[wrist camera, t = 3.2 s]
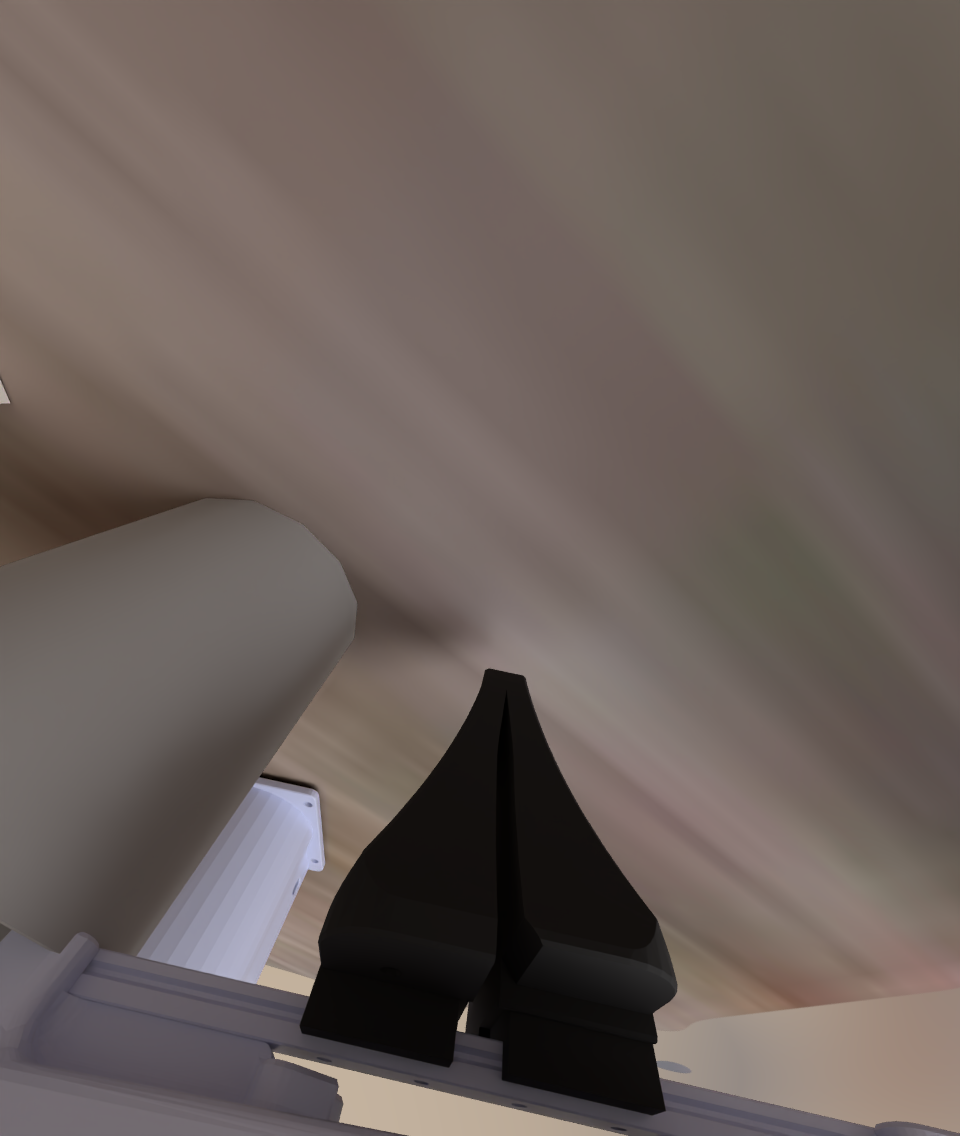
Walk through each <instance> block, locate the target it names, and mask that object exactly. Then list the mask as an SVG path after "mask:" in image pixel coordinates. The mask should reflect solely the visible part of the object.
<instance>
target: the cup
mask: <svg viewBox="0 0 960 1136" xmlns="http://www.w3.org/2000/svg"><path fill="white" fill-rule="evenodd" d="M356 614H357V601H356V599H355V596H354V594H353V592H352V589H351V587H350V584H349V582H348V580H347V577H346V575H345V573H344V570H343V568H342V566H341V563H340V562H339V561H338V560H337V559H336V558H335V556H334V555H333V554H332V553H331V552H330V551H329V550H328V549H327V548H326V547H325V546H324V545H323V544H322V543H321V542H320V541H319V540H318V539H317V538H316V537H315V536H314V535H313V534H312V533H311V532H310V531H309V530H308V529H307V528H306V527H305V526H304V525H303V524H301V523H299V522H297V521H295V520H293V519H291V518H289V517H287V516H285V515H283V514H281V513H279V512H277V511H274V510H272V509H270V508H268V507H266V506H264V505H262V504H260V503H258V502H256V501H254V500H237V499H216V498H204V499H201V500H198V501H195V502H192V503H189V504H186V505H183V506H180V507H177V508H174V509H171V510H168V511H165V512H162V513H159V514H156V515H153V516H150V517H147V518H144V519H141V520H138V521H135V522H132V523H129V524H126V525H123V526H120V527H117V528H114V529H111V530H108V531H105V532H102V533H99V534H96V535H93V536H90V537H87V538H84V539H81V540H78V541H75V542H72V543H69V544H66V545H63V546H60V547H57V548H54V549H51V550H48V551H45V552H42V553H39V554H36V555H33V556H30V557H27V558H24V559H21V560H18V561H15V562H12V563H9V564H6V565H3V566H0V942H1V941H2V940H3V938H4V937H5V936H6V935H7V934H8V933H9V932H10V931H11V930H13V931H15V932H17V933H19V934H20V935H22V936H24V937H26V938H27V939H29V940H31V941H33V942H35V943H36V944H38V945H40V946H42V947H44V948H45V949H47V950H49V951H52V952H55V953H59V954H60V953H61V952H62V951H63V949H64V948H65V947H66V946H67V944H68V943H69V942H70V941H71V940H72V938H73V937H74V936H75V935H76V934H77V933H80V932H85V933H87V934H89V935H91V936H92V937H94V938H95V939H96V940H97V942H98V943H99V948H102V949H106V950H111V951H115V952H119V953H124V954H128V955H132V956H137V954H138V953H139V952H140V950H141V949H142V947H143V946H144V944H145V943H146V941H147V940H148V938H149V937H150V935H151V934H152V933H153V931H154V930H155V928H156V927H157V925H158V924H159V922H160V921H161V919H162V918H163V917H164V915H165V914H166V912H167V911H168V909H169V908H170V906H171V905H172V903H173V902H174V900H175V899H176V898H177V896H178V895H179V893H180V892H181V890H182V889H183V887H184V886H185V884H186V883H187V882H188V880H189V879H190V877H191V876H192V874H193V873H194V871H195V870H196V868H197V867H198V865H199V864H200V863H201V861H202V860H203V858H204V857H205V855H206V854H207V852H208V851H209V849H210V848H211V847H212V845H213V844H214V842H215V841H216V839H217V838H218V836H219V835H220V833H221V832H222V830H223V829H224V828H225V826H226V825H227V823H228V822H229V820H230V819H231V817H232V816H233V814H234V813H235V812H236V810H237V809H238V807H239V806H240V804H241V803H242V801H243V800H244V798H245V797H246V795H247V794H248V793H249V791H250V790H251V788H252V787H253V785H254V784H255V782H256V781H257V779H258V778H259V777H260V775H261V774H262V772H263V771H264V769H265V768H266V766H267V765H268V763H269V762H270V760H271V759H272V758H273V756H274V755H275V753H276V752H277V750H278V749H279V747H280V746H281V744H282V743H283V742H284V740H285V739H286V737H287V736H288V734H289V733H290V731H291V730H292V728H293V727H294V725H295V724H296V723H297V721H298V720H299V718H300V717H301V715H302V714H303V712H304V711H305V709H306V708H307V707H308V705H309V704H310V702H311V701H312V699H313V698H314V696H315V695H316V693H317V692H318V690H319V689H320V688H321V686H322V685H323V683H324V682H325V680H326V679H327V677H328V676H329V674H330V673H331V672H332V670H333V669H334V667H335V666H336V664H337V663H338V661H339V660H340V658H341V657H342V655H343V654H344V653H345V651H346V650H347V648H348V647H349V645H350V644H351V642H352V641H353V639H354V636H355V625H356Z"/></svg>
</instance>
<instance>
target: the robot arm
mask: <svg viewBox="0 0 960 1136" xmlns="http://www.w3.org/2000/svg"><path fill="white" fill-rule="evenodd" d="M324 865H325V857H324V846H323V834H322V823H321V812H320V800H319V794H318V792H317V791H315V790H314V789H311V788H306V787H302V786H297V785H293V784H288V783H283V782H279V781H274V780H270V779H265V778H261V777H259V778H258V779H257V781H256V782H255V784H254V785H253V787H252V788H251V790H250V791H249V793H248V794H247V795H246V797H245V798H244V800H243V801H242V803H241V804H240V806H239V807H238V809H237V810H236V812H235V813H234V814H233V816H232V817H231V819H230V820H229V822H228V823H227V825H226V826H225V828H224V829H223V830H222V832H221V833H220V835H219V836H218V838H217V839H216V841H215V842H214V844H213V845H212V847H211V848H210V849H209V851H208V852H207V854H206V855H205V857H204V858H203V860H202V861H201V863H200V864H199V865H198V867H197V868H196V870H195V871H194V873H193V874H192V876H191V877H190V879H189V880H188V882H187V883H186V884H185V886H184V887H183V889H182V890H181V892H180V893H179V895H178V896H177V898H176V899H175V900H174V902H173V903H172V905H171V906H170V908H169V909H168V911H167V912H166V914H165V915H164V917H163V918H162V919H161V921H160V922H159V924H158V925H157V927H156V928H155V930H154V931H153V933H152V934H151V935H150V937H149V938H148V940H147V941H146V943H145V944H144V946H143V947H142V949H141V950H140V952H139V953H138V954H137V956H132V955H128V954H124V953H119V952H115V951H111V950H106V949H102V948H99V943H98V942H97V940H96V939H95V938H94V937H92V936H91V935H89V934H87V933H85V932H80V933H77V934H76V935H75V936H74V937H73V938H72V940H71V941H70V942H69V943H68V944H67V946H66V947H65V948H64V949H63V951H62V952H61V953H60V954H59V953H55V952H52V951H49V950H47V949H45V948H44V947H42V946H40V945H38V944H36V943H35V942H33V941H31V940H29V939H27V938H26V937H24V936H22V935H20V934H19V933H17V932H15V931H13V930H11V931H10V932H9V933H8V934H7V935H6V936H5V937H4V938H3V940H2V941H1V942H0V1136H407V1135H401V1134H396V1133H391V1132H386V1131H380V1130H375V1129H371V1128H365V1127H360V1126H355V1125H350V1124H344V1123H339V1119H340V1114H341V1111H342V1107H343V1101H342V1097H341V1096H339V1095H338V1094H337V1091H338V1082H337V1079H335V1078H332V1077H329V1076H327V1075H324V1074H321V1073H318V1072H316V1071H313V1070H310V1069H307V1068H304V1067H302V1066H299V1065H296V1064H294V1063H290V1062H287V1061H283V1060H279V1059H275V1057H274V1054H273V1052H276V1053H281V1054H285V1055H289V1056H293V1057H298V1058H302V1059H306V1060H311V1061H314V1062H319V1063H323V1064H327V1065H332V1066H336V1067H340V1068H344V1069H348V1070H353V1071H357V1072H361V1073H365V1074H370V1075H374V1076H379V1077H382V1078H387V1079H391V1080H395V1081H399V1082H403V1083H408V1084H412V1085H416V1086H421V1087H425V1088H429V1089H433V1090H437V1091H442V1092H446V1093H450V1094H454V1095H458V1096H463V1097H467V1098H471V1099H476V1100H480V1101H484V1102H488V1103H493V1104H497V1105H501V1106H506V1107H509V1108H514V1109H518V1110H523V1111H526V1112H530V1113H535V1114H539V1115H543V1116H548V1117H552V1118H556V1119H560V1120H564V1121H569V1122H573V1123H577V1124H581V1125H586V1126H590V1127H594V1128H599V1129H603V1130H607V1131H611V1132H615V1133H619V1134H624V1135H628V1136H960V1133H955V1132H951V1131H947V1130H942V1129H938V1128H934V1127H929V1126H925V1125H920V1124H916V1123H909V1122H897V1121H895V1122H884V1123H880V1124H876V1126H875V1128H872V1127H868V1126H864V1125H860V1124H855V1123H851V1122H847V1121H842V1120H838V1119H834V1118H829V1117H825V1116H821V1115H817V1114H812V1113H808V1112H804V1111H799V1110H795V1109H791V1108H787V1107H782V1106H778V1105H774V1104H769V1103H765V1102H760V1101H756V1100H752V1099H748V1098H743V1097H739V1096H735V1095H730V1094H726V1093H722V1092H717V1091H713V1090H709V1089H705V1088H700V1087H696V1086H692V1085H688V1084H683V1083H679V1082H675V1081H670V1080H666V1079H661V1078H659V1073H658V1068H657V1063H656V1058H655V1053H654V1048H653V1044H656V1043H657V1032H656V1027H655V1022H654V1017H653V1013H654V1012H655V1011H656V1010H658V1009H659V1008H661V1007H662V1006H664V1005H665V1004H667V1003H668V1002H670V1001H671V1000H672V998H673V997H674V996H675V994H676V992H677V981H676V977H675V973H674V970H673V966H672V962H671V958H670V955H669V952H668V949H667V946H666V943H665V940H664V938H663V935H662V932H661V929H660V926H659V923H658V921H657V919H656V917H655V916H654V915H653V913H652V912H651V911H650V910H649V908H648V907H647V906H646V904H645V903H644V902H643V900H642V899H641V898H640V896H639V895H638V894H637V892H636V891H635V890H634V888H633V887H632V886H631V884H630V883H629V882H628V880H627V879H626V877H625V876H624V875H623V873H622V872H621V870H620V869H619V867H618V866H617V865H616V863H615V862H614V860H613V859H612V857H611V856H610V854H609V853H608V852H607V850H606V849H605V847H604V845H603V844H602V842H601V841H600V839H599V838H598V836H597V834H596V833H595V831H594V830H593V828H592V826H591V825H590V823H589V822H588V820H587V819H586V817H585V815H584V814H583V812H582V810H581V809H580V807H579V805H578V803H577V802H576V800H575V798H574V796H573V795H572V793H571V791H570V789H569V787H568V785H567V783H566V781H565V779H564V778H563V776H562V774H561V772H560V770H559V767H558V765H557V763H556V761H555V759H554V757H553V754H552V752H551V750H550V748H549V746H548V743H547V741H546V738H545V736H544V733H543V731H542V728H541V726H540V723H539V720H538V718H537V715H536V712H535V709H534V706H533V703H532V700H531V697H530V693H529V690H528V686H527V682H526V678H525V677H524V676H523V675H518V674H513V673H508V672H503V671H499V670H494V669H487V670H485V673H484V677H483V681H482V686H481V688H480V691H479V693H478V696H477V698H476V700H475V702H474V704H473V706H472V708H471V711H470V713H469V715H468V716H467V718H466V720H465V722H464V724H463V725H462V727H461V729H460V730H459V732H458V734H457V736H456V737H455V739H454V740H453V742H452V744H451V745H450V747H449V748H448V750H447V751H446V753H445V754H444V756H443V757H442V759H441V760H440V761H439V763H438V764H437V766H436V767H435V768H434V770H433V771H432V772H431V774H430V775H429V776H428V778H427V779H426V780H425V782H424V783H423V784H422V785H421V787H420V788H419V789H418V790H417V792H416V793H415V794H414V795H413V796H412V798H411V799H410V800H409V801H408V802H407V803H406V805H405V806H404V807H403V808H402V809H401V811H400V812H399V813H398V814H397V815H396V816H395V817H394V819H393V820H392V821H391V822H390V823H389V824H388V825H387V826H386V827H385V828H384V829H383V830H382V831H381V832H380V833H379V834H378V836H377V837H376V838H375V839H374V840H373V841H372V842H371V843H370V844H369V845H368V846H367V847H366V848H365V849H364V850H363V852H362V854H361V855H360V857H359V858H358V860H357V861H356V863H355V864H354V866H353V867H352V869H351V870H350V872H349V873H348V875H347V877H346V878H345V880H344V881H343V883H342V885H341V887H340V888H339V890H338V892H337V894H336V896H335V898H334V900H333V902H332V904H331V906H330V909H329V911H328V914H327V917H326V919H325V922H324V925H323V928H322V930H321V933H320V936H319V940H318V944H319V952H320V959H321V965H320V968H319V971H318V974H317V977H316V980H315V982H314V985H313V988H312V991H311V994H310V997H309V996H304V995H300V994H296V993H291V992H287V991H283V990H279V989H274V988H270V987H266V986H261V985H257V984H256V983H257V981H258V979H259V976H260V974H261V972H262V970H263V968H264V965H265V963H266V961H267V959H268V957H269V954H270V952H271V950H272V948H273V945H274V943H275V941H276V939H277V937H278V934H279V932H280V930H281V928H282V926H283V923H284V921H285V919H286V917H287V914H288V912H289V910H290V908H291V906H292V903H293V901H294V899H295V897H296V894H297V892H298V890H299V888H300V886H301V883H302V881H303V879H304V877H305V875H306V872H307V870H308V869H309V870H314V871H321V870H323V867H324ZM468 1002H469V1007H468V1014H467V1022H466V1032H465V1033H464V1032H459V1031H457V1025H458V1020H459V1019H460V1017H461V1015H462V1013H463V1011H464V1009H465V1007H466V1005H467V1004H468Z"/></svg>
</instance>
